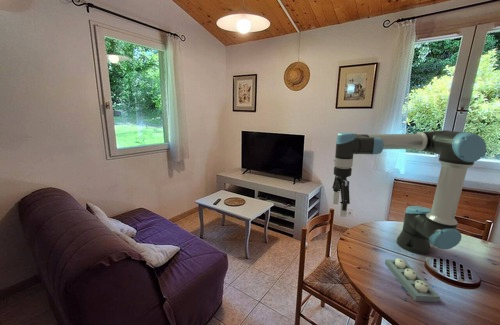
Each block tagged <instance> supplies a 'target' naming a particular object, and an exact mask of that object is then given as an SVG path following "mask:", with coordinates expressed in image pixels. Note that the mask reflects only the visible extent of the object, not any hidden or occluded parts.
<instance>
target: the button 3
mask: <svg viewBox="0 0 500 325" xmlns="http://www.w3.org/2000/svg"><path fill="white" fill-rule="evenodd" d="M425 282H426V281H425ZM425 282H423V281H421V280H416V282H415V287H414V288H415V289H416V290H417V291H418V293H427V291H428V285H429V283H427V282H426V283H425Z"/></svg>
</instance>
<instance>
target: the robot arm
mask: <svg viewBox="0 0 500 325" xmlns="http://www.w3.org/2000/svg"><path fill="white" fill-rule="evenodd" d="M336 136H337V137H336V140H335V155H334V159H333V162H334V168H333V175H335V176H334V180H333V184H332V189H333V190H332V191H333V193H332V205H340V207H339V217H343V218H344V217H345V218H346V217H347V213H348V212H347V211H348V205H350V204H351V202H350V200H351V198H350V181H349V180H348V178H349V177H351V176H352V170H353V169H352V167H353V163H354V155H379V154H382V152H383V151H384V150H416V152H428V153H431V154H432V153H433V154H436V155H439V156H438V162H439V163H440V164H441V167H440V172H439V176H438V181H437V183H436V189H435V193H434V197H433V202H432V205H431V208H428V207H424V206H419V205H409V206H407V207H406V209H405V211H404V219H403V225H402V229H401V232H400V233H399V235H398V236H397V237H396V244H397V245H398V247H400V248H401V249H403V250H405V251H407V252H410V253H412V254H417V255H428V254H430V253H431V252H430V251H431V245H432V246H434V247H436V248H437V249H440V250H450V249H453V248H454V247H456V246H458V245H459V244H460V242H461V241H462V238H463V237H462V233H461V232H460V230H458V229H457V228H458V221H457V219H456V218H455V217H456V213H457V211H458V206H459V202H460V198H461V194H462V190H463V187H464V183H465V179H466V176H467V172H468V168H471V167H473V166H474V165H475V162H477V161H479V160H481V158H482V157H484V156H485V154H486V152H487V143H486V141H485V140H484V138H483V137H482V136H480V135H479V134H476V133H473V132H472V133H471V132H467V131H454V130H445V129H444V130H443V129H441V130H432V131H431V130H429V131H418V132H417V133H389V134H388V133H384V134H383V133H382V134H379V133H378V134H377V133H376V134H375V133H374V134H370V133H369V134H367V133H366V134H360V133H359V134H358V133H354V132H338V133H337V135H336ZM339 199H340V200H341V201H340V202H339ZM339 203H340V204H339Z"/></svg>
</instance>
